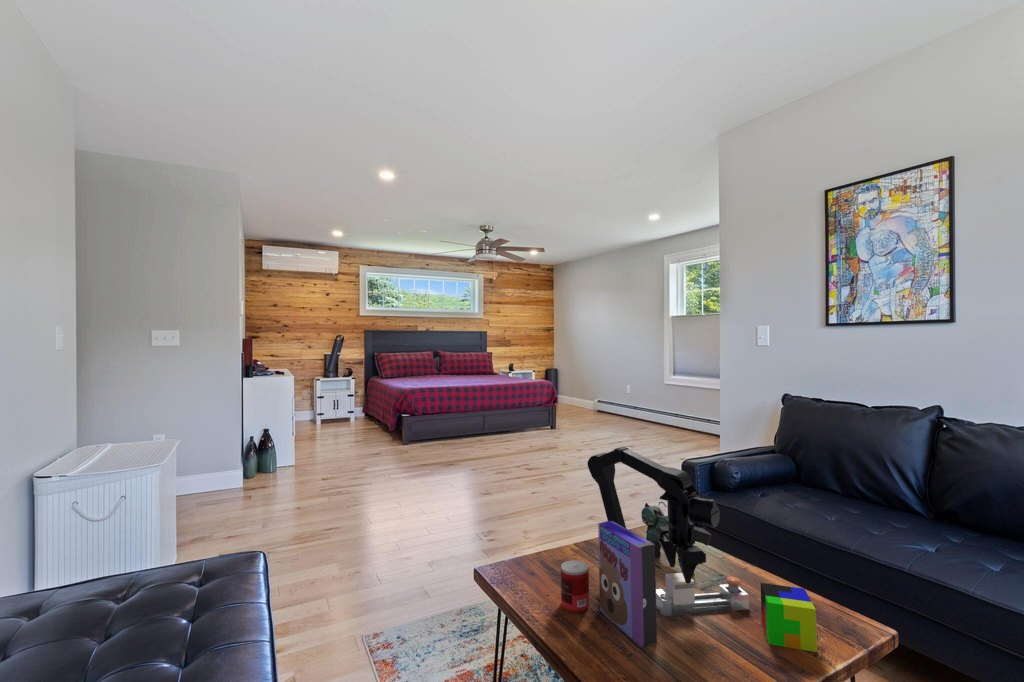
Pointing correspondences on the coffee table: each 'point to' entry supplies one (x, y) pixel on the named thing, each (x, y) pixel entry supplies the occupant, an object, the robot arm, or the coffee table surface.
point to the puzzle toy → (788, 617)
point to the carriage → (679, 589)
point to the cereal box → (628, 582)
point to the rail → (704, 602)
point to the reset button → (733, 584)
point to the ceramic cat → (654, 525)
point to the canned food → (575, 586)
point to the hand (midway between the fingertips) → (680, 574)
